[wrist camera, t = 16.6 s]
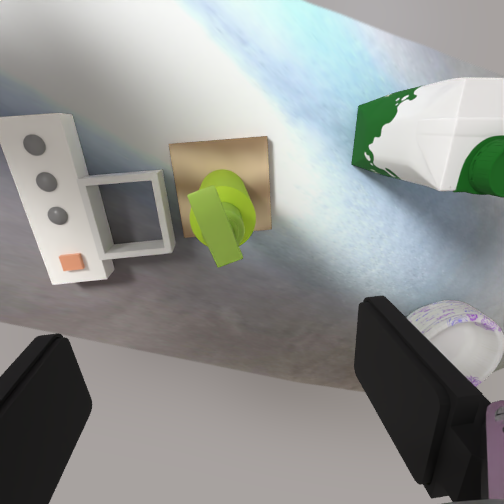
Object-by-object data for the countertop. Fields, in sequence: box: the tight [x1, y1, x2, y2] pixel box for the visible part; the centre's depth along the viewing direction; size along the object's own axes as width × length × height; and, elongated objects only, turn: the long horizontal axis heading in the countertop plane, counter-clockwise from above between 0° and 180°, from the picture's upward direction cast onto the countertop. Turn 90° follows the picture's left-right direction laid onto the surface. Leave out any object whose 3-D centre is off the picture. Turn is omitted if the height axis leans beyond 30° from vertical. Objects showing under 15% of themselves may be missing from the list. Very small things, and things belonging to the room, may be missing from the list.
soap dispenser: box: [187, 169, 256, 267], centre depth 29 cm, size 6×7×20 cm
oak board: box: [169, 136, 272, 238], centre depth 39 cm, size 12×12×1 cm
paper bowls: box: [406, 300, 504, 387], centre depth 48 cm, size 15×15×8 cm
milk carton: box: [352, 78, 504, 197], centre depth 29 cm, size 9×9×20 cm
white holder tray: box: [0, 113, 176, 285], centre depth 37 cm, size 20×16×4 cm
